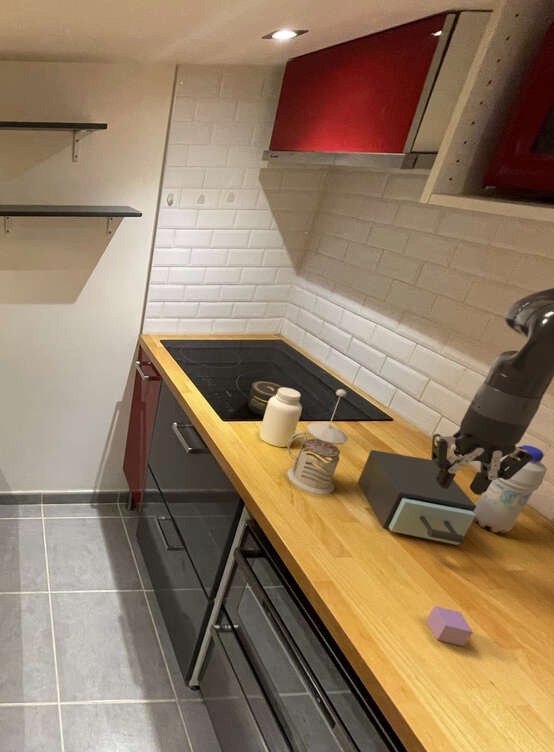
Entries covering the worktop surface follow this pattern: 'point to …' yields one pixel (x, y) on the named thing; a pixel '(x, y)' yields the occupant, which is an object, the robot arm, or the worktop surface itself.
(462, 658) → the worktop surface
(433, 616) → the block
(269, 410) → the pill bottle
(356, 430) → the worktop surface
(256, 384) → the jar
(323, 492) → the french press
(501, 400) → the robot arm
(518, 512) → the bottle
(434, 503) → the light blue drawer
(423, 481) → the drawer cabinet casing
